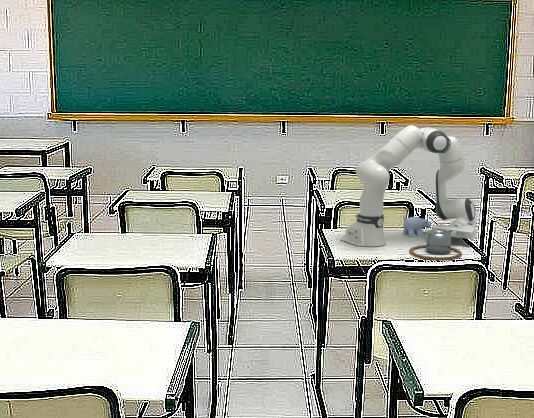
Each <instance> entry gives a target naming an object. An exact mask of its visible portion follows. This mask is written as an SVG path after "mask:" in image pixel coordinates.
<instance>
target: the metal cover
mask: <svg viewBox="0 0 534 418" xmlns="http://www.w3.org/2000/svg"><path fill="white" fill-rule="evenodd" d="M425 240H426V241H425V245H426V248H425V252H426V253H427V254H430V255H434V256H435V255H437V256H443V255H449V254H451V251H452V250H451V247H452V246H451V245H452V237H451V232H449V231H444V230H432V229H431V230H427V231H426V238H425Z"/></svg>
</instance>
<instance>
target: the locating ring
mask: <svg viewBox="0 0 534 418" xmlns="http://www.w3.org/2000/svg"><path fill="white" fill-rule="evenodd" d="M420 249H426V244H423V245H416V246H412V247H410V249H409V251H408V252H409V254H410V255H411V256H413V257H415V258H419V259H421V260H430V261H431V260H432V261H450V260H456V259H459V258H460V257H462V256H463V254H462V253H463V252H462V251H461V250H460V249H458V248H456V247H452V246H451V251H452V250H453V251H452V252H454V251H455V252H454V253H456V252H457V253H458V254H457V253H456V254H454V255H451V256H439V257H438V256H427V255H421V254H419V253H417V252H414V251H416V250H420Z"/></svg>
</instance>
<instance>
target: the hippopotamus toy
mask: <svg viewBox="0 0 534 418" xmlns="http://www.w3.org/2000/svg"><path fill="white" fill-rule="evenodd" d="M402 224H403V232H402V233H404V234H408V236H409V237H411V238H412V237H413V238H415V237H424V236H425V235H424V234H423V230H422V229H423V228H427V229H430V228H431V229H432V222H430V221H429V220H428V219H426V218H421V217H418V216H411V217H408V218H406V217H405V216H403V223H402Z"/></svg>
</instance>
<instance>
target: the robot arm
mask: <svg viewBox="0 0 534 418" xmlns="http://www.w3.org/2000/svg"><path fill="white" fill-rule="evenodd" d="M417 148H421V149H423V150H424V151H426V152H429V153H433V154H438V158H439V163H440V166H439V169H438V170H437V171H436V174H435V195H436V197H435V199H436V201H435V202H436V203H435V213H436V216H437V217H438V218H439V219H440V220H442V221H446V220H452V219H453V221H452V222H450V223H449V225H447V224H436V225H433V226H431V230H444V231H449V232H451V238H454V239H457V240H458V239H459V240H460V239H468V240H473V239H475V238H476V232H477V228H476V226H477V220H476V207H475V204H474V203H473V201H472V200H471V199H469V198H467V197H465V198H454V199H448V198H447V192H446V191H447V187H446V184H447V182H449V181H450V180H453V179H454V178H455V177H456V178H457V176H458V175H461V173H462V172H463V170H464V169H465V159H464V154H463V150H462V148H461V146H460V143H459V140H458V139H457V137H455V136H451V135H450V136H449V135H447V134H446V133H445V132H443V131H442V130H438V129H437V128H435V127H430V126H421V127H417V126H415V125H413V124H411V125H408V126H406V127H404V128H402V129H401V130H399V131H398V132H397V133H396V134H395V135H394V136H393V137H392V138H391V139H390V140H389V141H388V142H387V143H386V144H385V145H384V146H383V147H381V148H380V149H379V150H378V151H376V152H375V153H374V154H372V155H370V156H369V157H368V158H366V159H365V160H363V161H361V162H360V163H358V165H357V166H356V168H355V174H356V177H357V178H358V180H359V181H360V182H362V183H363V188H362V193H361V196H360V197H359V213H358V214H356V215H355V218H356V221H354V222H352V224H350V225H348V227H347V228H346V230H345V234H344V236H340V239H341V240H340V241H342V240H344V241H346V242H345V243H347V242H349V243H348V244H350V243H351V244H350V245H353V244H354V245H353V246H355V245H357V246H356V247H380V246H384V245H386V239H385V232H384V222H385V215H384V197H385V192H386V188H387V185H388V183H389V182H390V173H389V171H390V170H392V169H393V168H395V167H398V166H399V165H400V164H401V163H403V162H404V161H405V159H406V158H407V157H409V155H410V154H411V153H412V152H413V151H414V150H416V149H417ZM454 219H455V220H454ZM344 241H343V242H344Z"/></svg>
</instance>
